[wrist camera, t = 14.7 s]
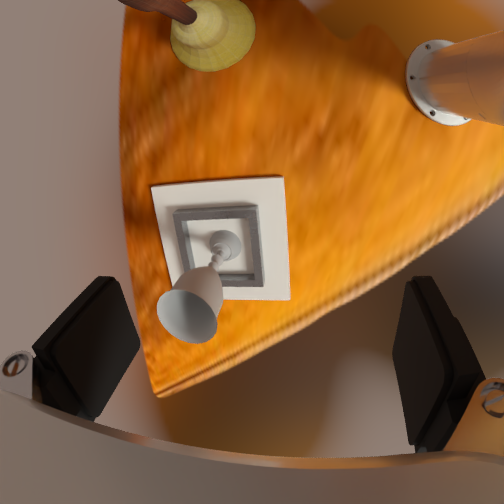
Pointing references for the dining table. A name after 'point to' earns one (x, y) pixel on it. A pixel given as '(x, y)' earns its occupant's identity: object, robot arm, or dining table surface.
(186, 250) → the collar
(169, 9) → the handbell
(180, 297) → the chalice
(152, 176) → the dining table surface
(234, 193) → the board
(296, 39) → the dining table surface
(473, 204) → the dining table surface
